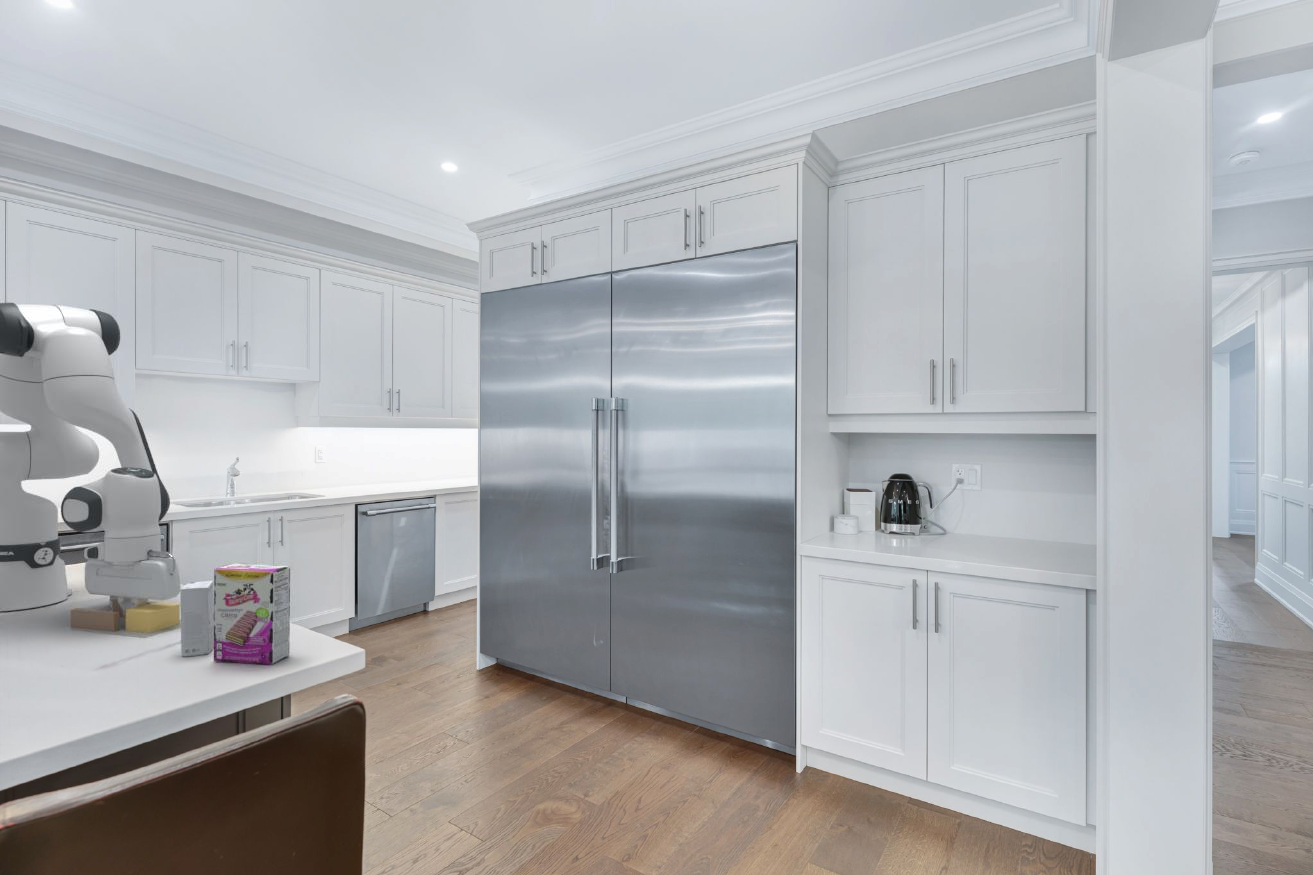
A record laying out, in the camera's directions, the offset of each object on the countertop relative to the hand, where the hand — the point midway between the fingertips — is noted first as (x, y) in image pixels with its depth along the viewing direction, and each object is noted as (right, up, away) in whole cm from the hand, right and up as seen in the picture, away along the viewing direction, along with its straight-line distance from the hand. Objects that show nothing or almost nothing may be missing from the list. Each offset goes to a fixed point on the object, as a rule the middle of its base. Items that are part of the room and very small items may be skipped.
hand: (132, 618), depth 130 cm
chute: (0, -2, 0) cm, 2 cm away
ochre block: (+5, -1, -1) cm, 5 cm away
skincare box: (+21, -3, -11) cm, 24 cm away
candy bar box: (+33, -3, -15) cm, 37 cm away
